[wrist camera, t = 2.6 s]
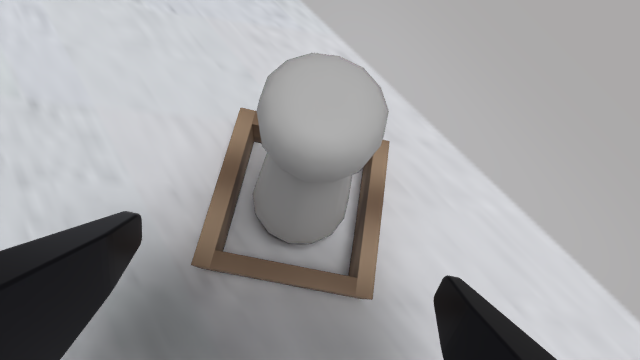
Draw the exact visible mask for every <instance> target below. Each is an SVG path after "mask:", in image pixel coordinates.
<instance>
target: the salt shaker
mask: <svg viewBox="0 0 640 360" xmlns="http://www.w3.org/2000/svg"><path fill="white" fill-rule="evenodd" d="M388 112H389V111H388V108H387V105H386V102H385V99H384V96H383V93H382V90H381V87H380V86H379V85H378V84H377V83H376V82H375V80H374V79H373V78H372V77H371V76H370V75H369V74H368V73H367V71H366V70H365V69H364V68H363V67H361V66H358V65H356V64H354V63H352V62H350V61H348V60H346V59H344V58H342V57H340V56H334V55H326V54H317V53H310V54H307V55H303V56H300V57H296V58H293V59H290V60H287V61H285V62H284V63H283V64H282V65H281V66H280V67H278V68H277V69H276V70H275V71H274V72H272V73H271V74H270V75H269V76H268V77H267V80H266V82H265V85H264V88H263V91H262V94H261V96H260V99H259V103H258V108H257V117H258V123H259V129H260V136H261V141H262V146H263V148H264V149H265V150H266V151H267V154H266V157H265V160H264V163H263V165H262V168H261V171H260V174H259V177H258V180H257V183H256V186H255V189H254V192H253V199H254V206H255V212H256V216H257V217H258V218H259V220H260V221H261V223H262V224H263V225H264V227H265V228H266V229H267V231H268V232H269V233H270V234H272V235H274V236H276V237H278V238H280V239H281V240H283V241H285V242H287V243H298V244H311V243H314V242H316V241H318V240H321V239H323V238H325V237H327V236H330V235H331V234H332V233H333V232H334V231H335V229H336V228H337V227H338V225H339V224H340V223H341V222H342V220H343V219H344V216H345V211H346V207H347V203H348V199H349V192H350V186H351V179H352V175H353V174H356V173H358V172H359V171H360V170H361V169H362V168H363V167H364V166H365V164H366V163H367V162H368V161H369V160H370V158H371V157H372V156H373V155H374V153H375V152H376V151H377V150H378V149H379V147H380V146H381V143H382V140H383V137H384V132H385V127H386V122H387V117H388Z"/></svg>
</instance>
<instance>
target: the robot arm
mask: <svg viewBox="0 0 640 360" xmlns="http://www.w3.org/2000/svg"><path fill="white" fill-rule="evenodd" d="M141 240H142V219H141V216H140V215H139V214H138V213H133V212H128V211H123V212H120V213H117V214H114V215H111V216H108V217H105V218H101V219H98V220H95V221H92V222H89V223H86V224H83V225H80V226H77V227H73V228H70V229H67V230H64V231H61V232H58V233H55V234H52V235H49V236H45V237H42V238H39V239H36V240H33V241H30V242H27V243H24V244H21V245H17V246H14V247H11V248H8V249H5V250H2V251H0V360H60V359H61V358H62V357H63V355H64V354H65V353H66V351H67V350H68V349H69V347H70V346H71V345H72V343H73V342H74V341H75V339H76V338H77V337H78V336H79V334H80V333H81V332H82V330H83V329H84V328H85V326H86V325H87V324H88V322H89V321H90V320H91V319H92V317H93V316H94V315H95V313H96V312H97V311H98V309H99V308H100V307H101V305H102V304H103V303H104V301H105V300H106V299H107V297H108V296H109V295H110V293H111V292H112V290H113V289H114V287H115V286H116V284H117V282H118V281H119V279H120V277H121V276H122V274H123V272H124V271H125V269H126V268H127V266H128V264H129V263H130V261H131V259H132V258H133V256H134V254H135V253H136V251H137V249H138V248H139V246H140V244H141ZM434 308H435V314H436V320H437V326H438V332H439V338H440V345H441V350H442V354H443V358H444V360H557V359H555V358H554V357H553V356H552V355H551V354H550V353H548V352H547V351H546V350H545V349H544V348H542V347H541V346H540V345H539V344H538V343H536V342H535V341H534V340H533V339H532V338H531V337H529V336H528V335H527V334H526V333H525V332H523V331H522V330H521V329H520V328H519V327H517V326H516V325H515V324H514V323H513V322H512V321H510V320H509V319H508V318H507V317H506V316H504V315H503V314H502V313H501V312H500V311H498V310H497V309H496V308H495V307H494V306H493V305H491V304H490V303H489V302H488V301H487V300H485V299H484V298H483V297H482V296H481V295H479V294H478V293H477V292H476V291H475V290H474V289H472V288H471V287H470V286H469V285H468V284H466V283H465V282H464V281H463V280H462V279H460V278H458V277H453V276H445V277H444V278H443V279H442V281H441V283H440V285H439V287H438V289H437V291H436V293H435V296H434Z"/></svg>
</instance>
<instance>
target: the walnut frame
mask: <svg viewBox="0 0 640 360" xmlns="http://www.w3.org/2000/svg"><path fill="white" fill-rule="evenodd" d="M254 141H255V142H259V143H262V141H261V136H260V129H259V123H258V117H257V111H254V110H249V109H245V108H240V111H239V114H238V117H237V120H236V124H235V127H234V130H233V133H232V136H231V139H230V143H229V146H228V149H227V152H226V155H225V158H224V162H223V165H222V168H221V171H220V174H219V177H218V181H217V184H216V187H215V190H214V193H213V196H212V200H211V203H210V206H209V209H208V212H207V215H206V219H205V222H204V225H203V228H202V231H201V234H200V238H199V241H198V244H197V247H196V250H195V253H194V257H193V260H192V263H191V265H193V266H196V267H199V268H202V269H207V270H212V271H218V272H223V273H228V274H233V275H239V276H244V277H249V278H254V279H260V280H265V281H270V282H275V283H281V284H286V285H291V286H296V287H302V288H307V289H312V290H317V291H322V292H328V293H333V294H338V295H343V296H349V297H354V298H359V299H371V300H372V299H373V290H374V281H375V271H376V262H377V253H378V243H379V234H380V225H381V216H382V206H383V197H384V188H385V178H386V169H387V160H388V150H389V141H386V140H382V143H381V146H380V147H379V149H378V150H377V151H376V152H375V153H374V155H373V156H372V157H371V158H370V160H369V161H368V162H367V163H366V164H365V166H364V167H363V174H362V181H361V189H360V196H359V203H358V210H357V218H356V225H355V232H354V240H353V247H352V254H351V262H350V269H349V276H345V275H340V274H335V273H330V272H324V271H319V270H314V269H309V268H304V267H299V266H294V265H289V264H284V263H278V262H273V261H268V260H263V259H258V258H253V257H248V256H243V255H237V254H232V253H227V252H223V249H224V245H225V242H226V238H227V235H228V231H229V228H230V224H231V221H232V217H233V214H234V210H235V207H236V203H237V200H238V196H239V193H240V189H241V186H242V182H243V179H244V175H245V171H246V168H247V164H248V161H249V157H250V154H251V150H252V147H253V143H254Z"/></svg>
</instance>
